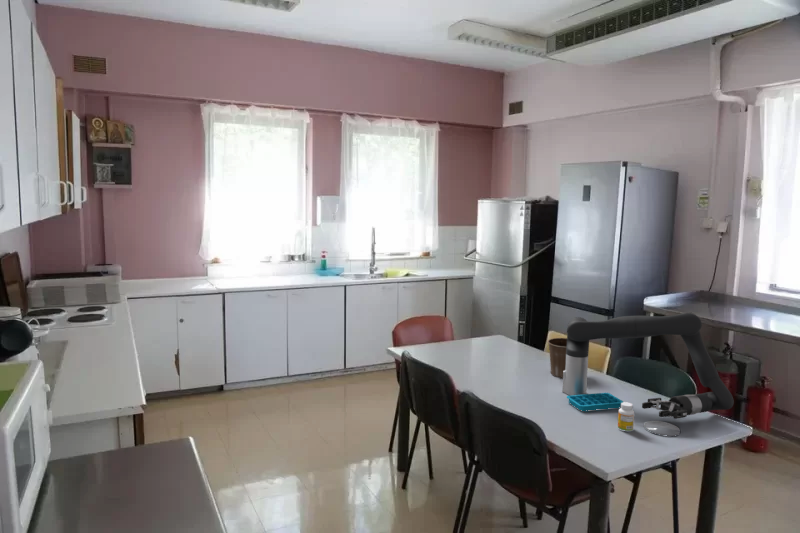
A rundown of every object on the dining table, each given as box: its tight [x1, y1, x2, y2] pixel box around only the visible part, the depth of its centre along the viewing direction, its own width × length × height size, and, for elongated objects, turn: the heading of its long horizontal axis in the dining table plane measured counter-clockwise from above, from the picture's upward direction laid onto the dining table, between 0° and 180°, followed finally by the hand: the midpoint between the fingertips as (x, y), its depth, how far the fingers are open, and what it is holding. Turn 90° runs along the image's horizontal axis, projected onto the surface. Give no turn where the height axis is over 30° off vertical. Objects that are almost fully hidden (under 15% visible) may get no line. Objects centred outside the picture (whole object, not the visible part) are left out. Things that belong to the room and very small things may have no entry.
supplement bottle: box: [617, 401, 635, 432], centre depth 201 cm, size 5×5×10 cm
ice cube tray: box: [566, 392, 624, 412], centre depth 224 cm, size 12×20×3 cm, turn 103°
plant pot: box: [547, 337, 567, 379], centre depth 262 cm, size 16×16×16 cm
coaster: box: [643, 420, 681, 437], centre depth 201 cm, size 12×12×1 cm
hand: (651, 410), depth 204 cm, fingers open, 8 cm apart
